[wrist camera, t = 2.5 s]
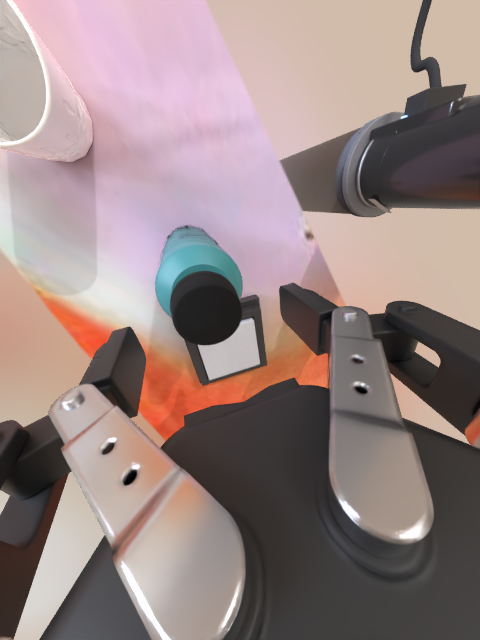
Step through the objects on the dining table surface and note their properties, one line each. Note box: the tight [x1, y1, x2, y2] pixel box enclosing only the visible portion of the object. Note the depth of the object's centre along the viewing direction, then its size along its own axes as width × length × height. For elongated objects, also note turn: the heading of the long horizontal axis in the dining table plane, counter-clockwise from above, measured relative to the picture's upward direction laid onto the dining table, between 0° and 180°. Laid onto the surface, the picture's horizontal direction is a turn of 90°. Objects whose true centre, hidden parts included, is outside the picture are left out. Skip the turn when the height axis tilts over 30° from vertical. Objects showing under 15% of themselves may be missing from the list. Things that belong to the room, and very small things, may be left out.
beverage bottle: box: [155, 225, 243, 346], centre depth 20 cm, size 6×7×20 cm
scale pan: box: [198, 317, 260, 380], centre depth 34 cm, size 9×9×2 cm
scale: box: [184, 295, 267, 385], centre depth 35 cm, size 14×13×3 cm
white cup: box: [0, 0, 93, 162], centre depth 15 cm, size 8×8×10 cm
